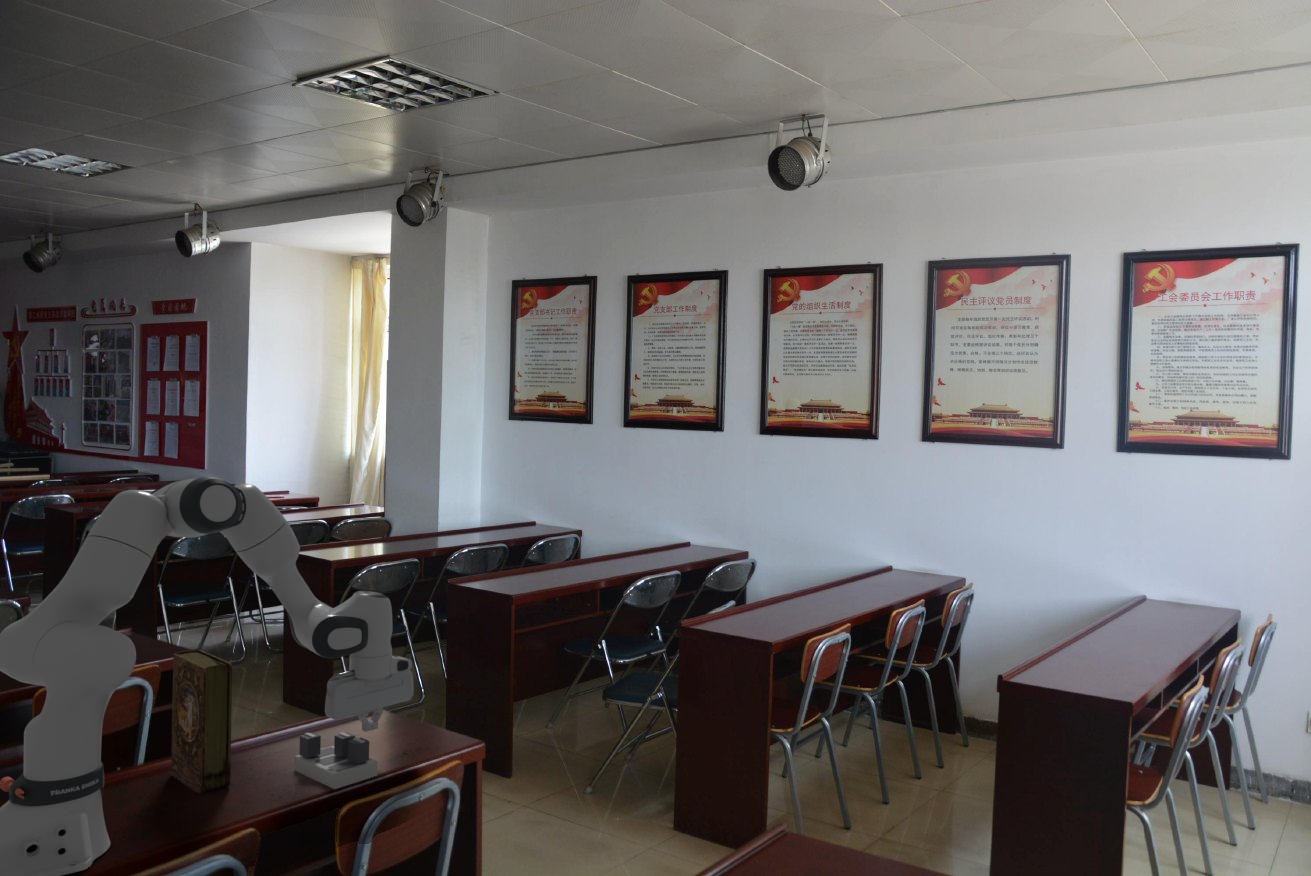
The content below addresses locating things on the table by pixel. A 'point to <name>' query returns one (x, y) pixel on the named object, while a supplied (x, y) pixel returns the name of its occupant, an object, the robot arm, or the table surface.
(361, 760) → the tab
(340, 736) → the tab middle
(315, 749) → the tab
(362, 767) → the switch panel
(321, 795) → the table surface
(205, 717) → the book
